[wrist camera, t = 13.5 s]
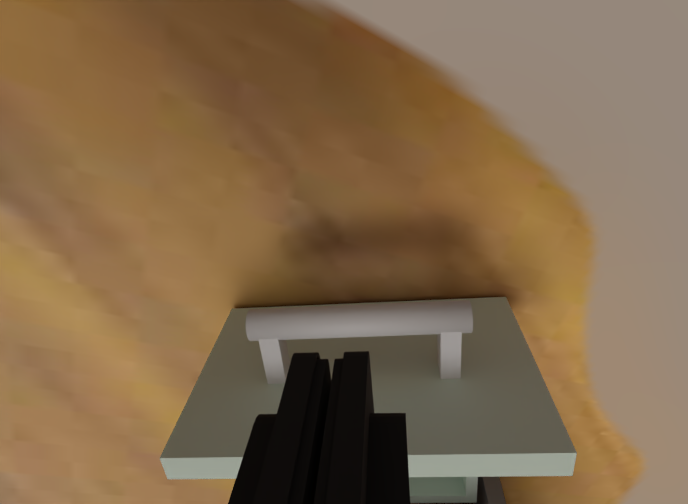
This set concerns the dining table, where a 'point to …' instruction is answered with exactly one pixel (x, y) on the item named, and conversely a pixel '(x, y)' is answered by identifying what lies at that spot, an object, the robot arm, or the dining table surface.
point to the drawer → (387, 390)
